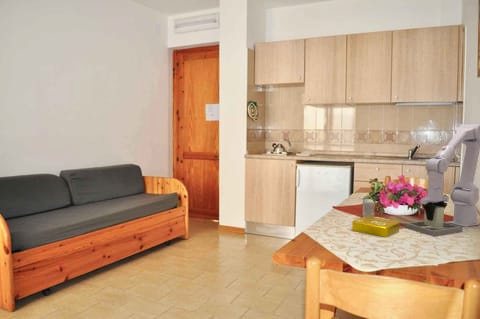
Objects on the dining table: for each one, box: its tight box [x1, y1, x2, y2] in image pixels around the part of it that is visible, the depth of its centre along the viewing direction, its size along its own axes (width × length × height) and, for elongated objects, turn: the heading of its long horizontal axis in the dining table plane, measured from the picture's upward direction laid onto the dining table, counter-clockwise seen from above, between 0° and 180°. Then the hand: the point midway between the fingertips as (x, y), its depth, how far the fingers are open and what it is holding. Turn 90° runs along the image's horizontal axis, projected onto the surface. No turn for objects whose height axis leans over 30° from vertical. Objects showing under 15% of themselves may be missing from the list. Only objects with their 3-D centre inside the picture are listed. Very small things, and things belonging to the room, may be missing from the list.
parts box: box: [423, 206, 445, 229], centre depth 162 cm, size 4×6×8 cm, turn 25°
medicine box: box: [361, 198, 375, 218], centre depth 179 cm, size 8×4×9 cm, turn 168°
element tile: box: [351, 216, 401, 238], centre depth 160 cm, size 15×15×5 cm
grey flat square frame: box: [404, 221, 464, 237], centre depth 162 cm, size 17×14×2 cm
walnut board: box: [383, 214, 424, 227], centre depth 176 cm, size 14×12×1 cm
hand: (433, 219), depth 162 cm, fingers closed on parts box, 4 cm apart
